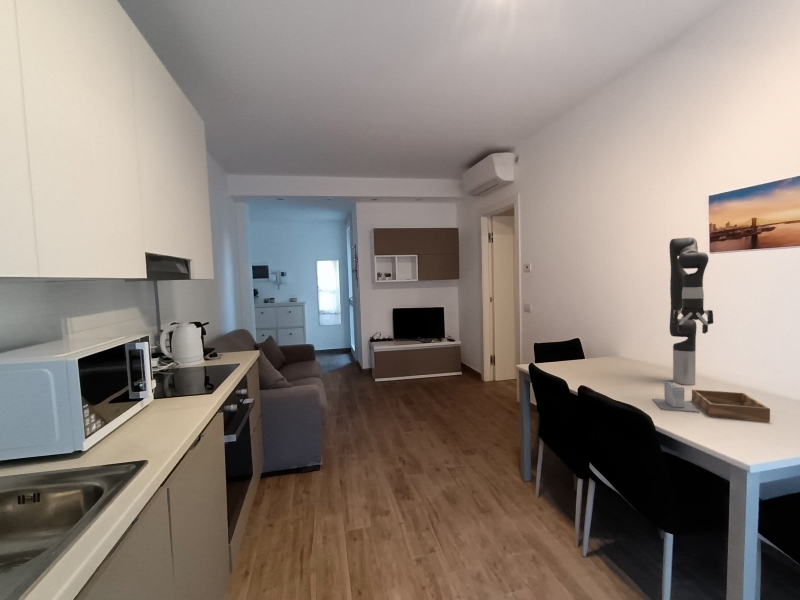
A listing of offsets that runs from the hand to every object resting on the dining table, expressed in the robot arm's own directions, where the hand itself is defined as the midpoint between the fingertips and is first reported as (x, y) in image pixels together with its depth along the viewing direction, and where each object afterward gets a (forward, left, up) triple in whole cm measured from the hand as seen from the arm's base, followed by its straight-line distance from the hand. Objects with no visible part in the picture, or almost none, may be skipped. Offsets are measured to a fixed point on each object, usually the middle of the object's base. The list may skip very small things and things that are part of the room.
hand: (692, 333), depth 162 cm
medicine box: (+13, -10, -30) cm, 34 cm away
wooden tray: (+13, +8, -30) cm, 34 cm away
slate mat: (+13, -10, -30) cm, 34 cm away
